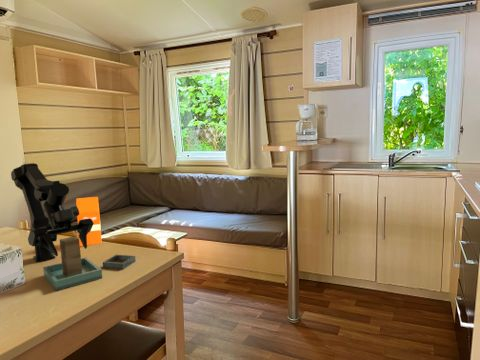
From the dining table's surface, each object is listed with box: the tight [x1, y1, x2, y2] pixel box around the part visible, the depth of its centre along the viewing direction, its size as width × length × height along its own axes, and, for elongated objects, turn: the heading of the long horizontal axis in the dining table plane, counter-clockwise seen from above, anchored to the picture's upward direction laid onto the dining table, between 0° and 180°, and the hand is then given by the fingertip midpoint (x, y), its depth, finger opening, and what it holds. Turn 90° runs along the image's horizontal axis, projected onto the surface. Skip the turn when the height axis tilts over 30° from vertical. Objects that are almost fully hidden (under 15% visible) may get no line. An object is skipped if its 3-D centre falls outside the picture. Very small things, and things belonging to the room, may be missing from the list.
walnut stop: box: [59, 236, 82, 277], centre depth 116 cm, size 4×4×12 cm
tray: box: [42, 256, 103, 292], centre depth 117 cm, size 16×14×3 cm
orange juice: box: [75, 196, 103, 247], centre depth 153 cm, size 8×9×20 cm
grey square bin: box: [102, 254, 136, 270], centre depth 127 cm, size 8×8×2 cm
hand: (72, 251), depth 115 cm, fingers open, 9 cm apart
